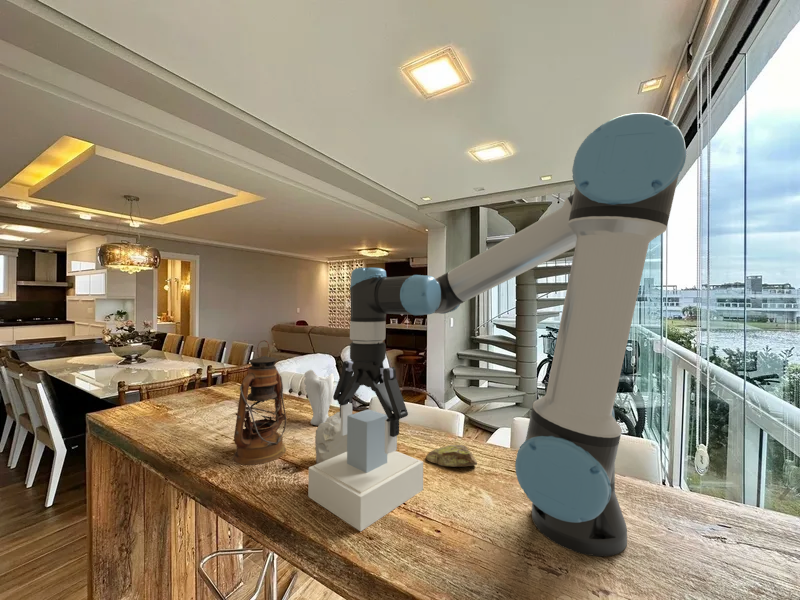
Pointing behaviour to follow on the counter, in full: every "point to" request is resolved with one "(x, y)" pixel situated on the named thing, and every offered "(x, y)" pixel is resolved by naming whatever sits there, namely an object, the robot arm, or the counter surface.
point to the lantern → (261, 435)
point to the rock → (452, 456)
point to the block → (366, 440)
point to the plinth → (364, 487)
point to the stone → (330, 439)
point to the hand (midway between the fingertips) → (367, 442)
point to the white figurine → (319, 395)
